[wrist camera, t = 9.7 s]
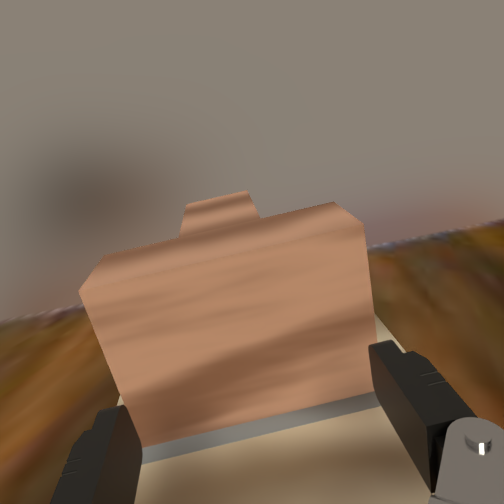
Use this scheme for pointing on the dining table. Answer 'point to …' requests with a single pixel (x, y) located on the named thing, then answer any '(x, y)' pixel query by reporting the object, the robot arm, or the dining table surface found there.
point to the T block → (235, 317)
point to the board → (289, 459)
